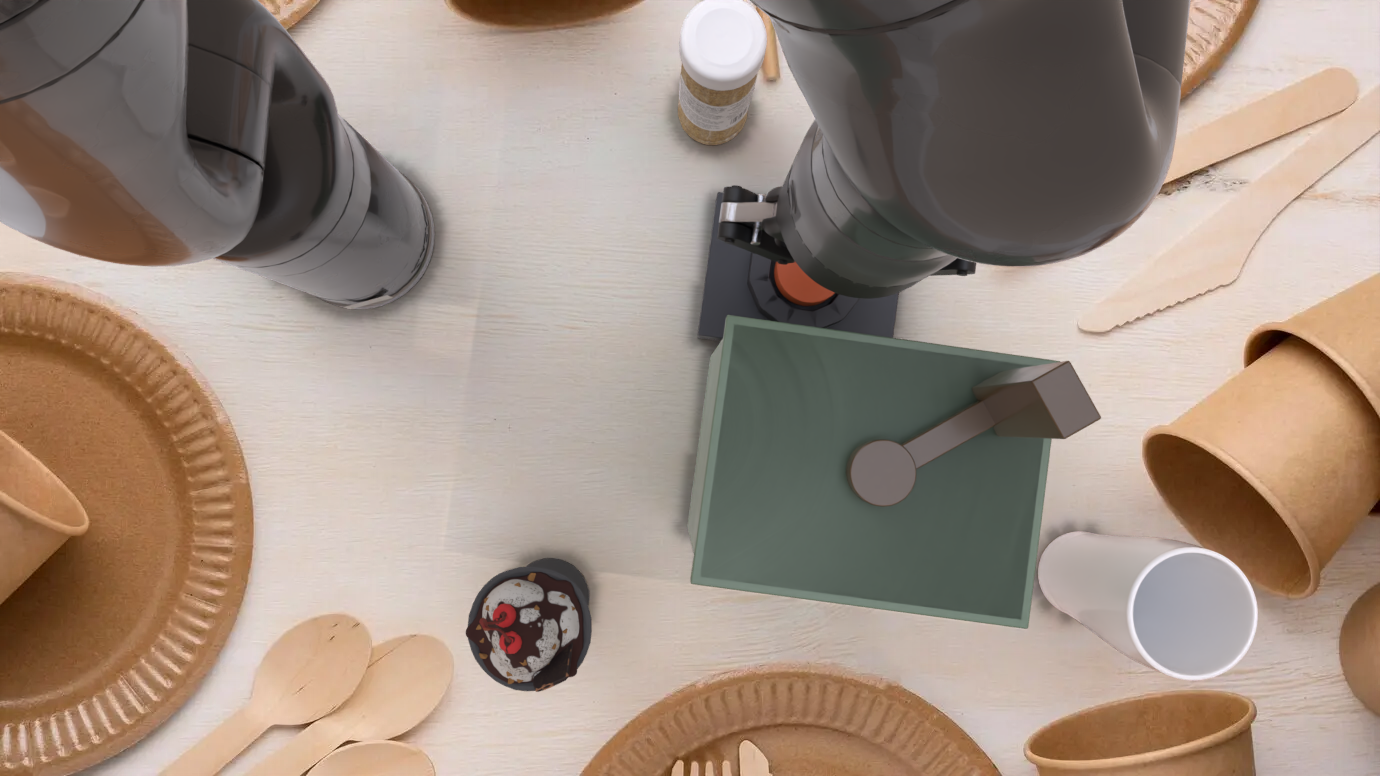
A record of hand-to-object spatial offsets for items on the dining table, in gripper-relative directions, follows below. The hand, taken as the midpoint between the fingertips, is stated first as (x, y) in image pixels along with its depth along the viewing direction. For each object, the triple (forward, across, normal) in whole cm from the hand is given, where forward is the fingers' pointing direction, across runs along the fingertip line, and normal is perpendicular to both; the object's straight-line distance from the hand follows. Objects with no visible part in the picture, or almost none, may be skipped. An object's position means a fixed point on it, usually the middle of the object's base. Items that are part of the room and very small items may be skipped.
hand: (823, 259), depth 59 cm
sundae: (+9, +13, +22) cm, 27 cm away
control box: (+9, 0, 0) cm, 9 cm away
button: (+5, 0, 0) cm, 5 cm away
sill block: (+9, -2, +11) cm, 14 cm away
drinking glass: (+9, -20, +16) cm, 27 cm away
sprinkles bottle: (+9, +7, -10) cm, 15 cm away
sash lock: (-13, -4, +9) cm, 17 cm away
